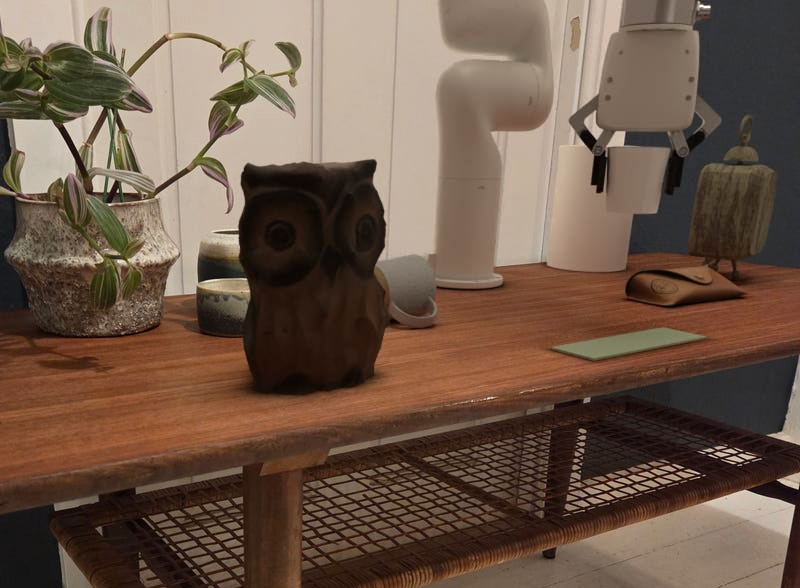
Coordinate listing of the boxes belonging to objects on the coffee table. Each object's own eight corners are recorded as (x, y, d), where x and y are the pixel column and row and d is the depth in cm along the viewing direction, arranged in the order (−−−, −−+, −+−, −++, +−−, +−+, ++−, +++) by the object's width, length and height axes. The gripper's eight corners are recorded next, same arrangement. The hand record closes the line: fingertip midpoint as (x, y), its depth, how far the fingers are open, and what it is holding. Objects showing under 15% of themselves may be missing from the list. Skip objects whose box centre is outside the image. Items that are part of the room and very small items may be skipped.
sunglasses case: (673, 304, 120) (658, 258, 121) (633, 322, 126) (619, 278, 127) (752, 294, 129) (738, 251, 130) (711, 311, 135) (699, 270, 136)
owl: (390, 372, 87) (399, 158, 80) (347, 407, 77) (353, 163, 69) (274, 359, 92) (272, 155, 84) (217, 390, 81) (210, 159, 73)
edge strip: (593, 361, 93) (593, 358, 93) (550, 349, 98) (550, 346, 97) (706, 338, 103) (706, 336, 103) (662, 329, 108) (662, 327, 108)
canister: (629, 263, 160) (646, 146, 152) (620, 274, 148) (638, 147, 141) (554, 258, 165) (567, 144, 157) (540, 268, 153) (553, 145, 146)
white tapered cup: (632, 215, 97) (641, 147, 94) (587, 210, 103) (594, 146, 100) (675, 213, 100) (685, 147, 97) (630, 208, 106) (638, 146, 103)
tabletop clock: (704, 271, 153) (731, 115, 144) (760, 276, 148) (792, 115, 139) (681, 281, 142) (708, 113, 133) (741, 287, 137) (774, 114, 128)
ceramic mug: (348, 316, 113) (350, 255, 110) (398, 309, 117) (401, 250, 114) (401, 333, 105) (405, 267, 102) (452, 325, 109) (457, 262, 106)
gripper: (738, 20, 95) (710, 193, 102) (572, 24, 99) (555, 190, 106) (751, 12, 89) (720, 197, 95) (572, 15, 93) (554, 193, 99)
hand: (633, 192), depth 100 cm, fingers closed on white tapered cup, 6 cm apart
